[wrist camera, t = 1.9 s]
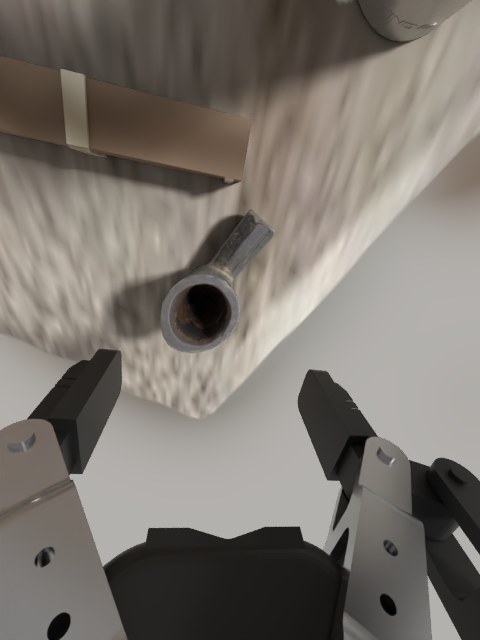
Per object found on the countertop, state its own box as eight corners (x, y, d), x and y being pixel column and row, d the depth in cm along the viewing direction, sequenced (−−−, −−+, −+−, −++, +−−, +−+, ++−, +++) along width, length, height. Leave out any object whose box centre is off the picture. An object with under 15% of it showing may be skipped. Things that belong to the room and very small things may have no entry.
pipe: (279, 236, 26) (304, 251, 19) (205, 326, 30) (202, 367, 23) (232, 193, 24) (240, 193, 17) (158, 296, 28) (139, 331, 20)
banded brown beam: (-22, 63, 19) (-74, 34, 15) (246, 129, 22) (252, 117, 19) (-9, 133, 20) (-53, 121, 17) (237, 185, 24) (241, 183, 20)
